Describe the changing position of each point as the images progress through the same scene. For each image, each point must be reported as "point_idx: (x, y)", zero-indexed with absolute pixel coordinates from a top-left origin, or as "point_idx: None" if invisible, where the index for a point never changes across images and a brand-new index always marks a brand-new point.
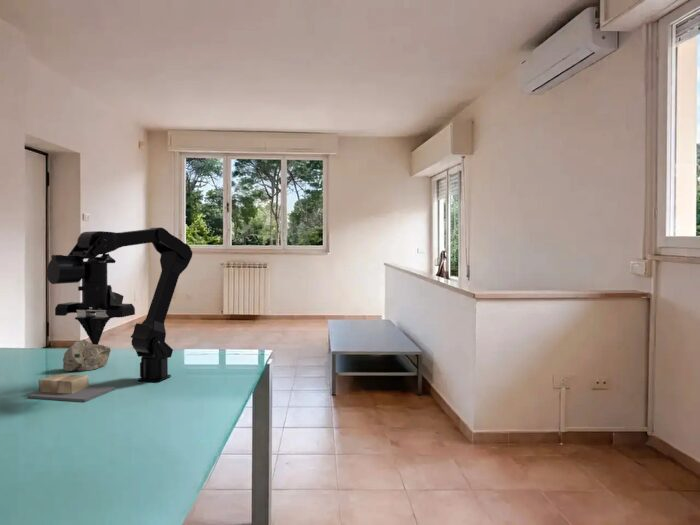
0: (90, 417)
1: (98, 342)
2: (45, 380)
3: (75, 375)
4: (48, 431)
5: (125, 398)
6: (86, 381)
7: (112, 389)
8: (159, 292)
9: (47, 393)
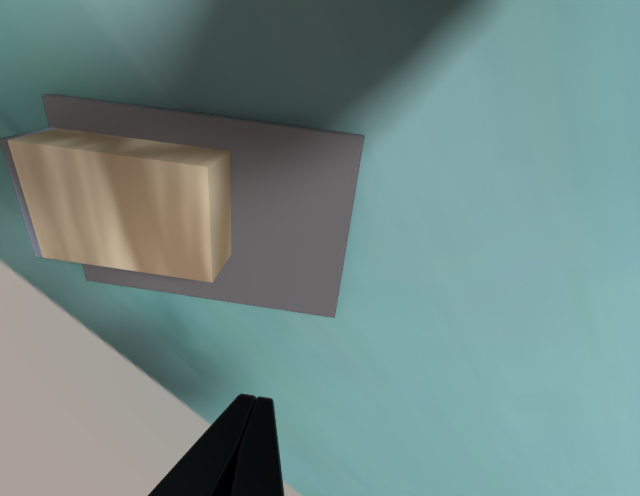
0: (436, 427)
1: (273, 409)
2: (72, 260)
3: (132, 168)
4: (383, 489)
5: (476, 267)
6: (218, 176)
7: (360, 157)
8: None
9: None
